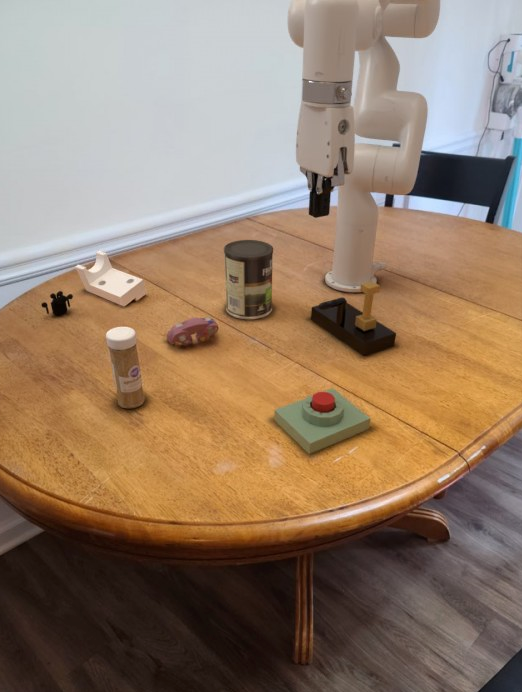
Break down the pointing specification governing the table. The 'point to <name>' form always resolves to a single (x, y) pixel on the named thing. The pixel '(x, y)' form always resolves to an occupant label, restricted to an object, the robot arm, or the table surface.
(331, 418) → the block
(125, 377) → the sprinkles bottle
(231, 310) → the coffee can
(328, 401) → the button
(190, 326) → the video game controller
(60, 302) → the wireless earbuds
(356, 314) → the tap base
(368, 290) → the tap handle
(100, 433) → the table surface
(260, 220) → the table surface
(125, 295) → the bracket
